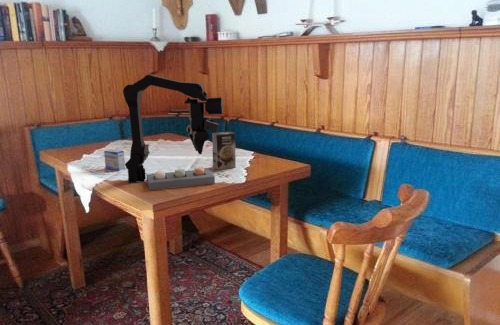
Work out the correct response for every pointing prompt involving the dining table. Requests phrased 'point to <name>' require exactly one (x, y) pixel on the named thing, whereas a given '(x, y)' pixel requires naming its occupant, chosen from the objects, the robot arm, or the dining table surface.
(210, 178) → the button panel
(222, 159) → the coffee box
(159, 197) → the dining table surface
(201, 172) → the orange rounded piece
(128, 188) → the dining table surface
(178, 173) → the sage button
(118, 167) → the medicine box
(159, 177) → the cream button
